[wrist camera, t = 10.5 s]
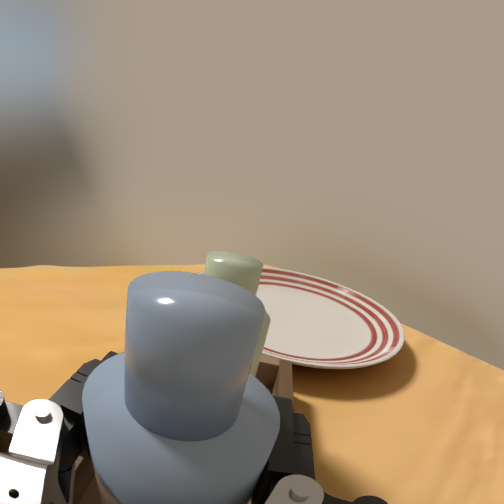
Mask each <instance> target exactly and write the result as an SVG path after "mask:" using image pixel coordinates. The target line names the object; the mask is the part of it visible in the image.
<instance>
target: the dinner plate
mask: <svg viewBox="0 0 504 504" xmlns="http://www.w3.org/2000/svg"><path fill="white" fill-rule="evenodd" d="M198 274H202V275H204V271H202V272H200V273H198ZM256 296H257V297H258V298H259V299H260V300H261V301H262V303H263V304H264V307H265V311H266V312H267V313H268V314H269V316H270V320H271V321H270V325H269V329H268V333H267V336H266V340H265V344H264V347H263V351H262V355H263V356H268V357H272V358H277V359H282V360H288V361H292V364H295V365H301V366H306V367H313V368H323V369H353V368H362V367H367V366H371V365H375V364H379V363H382V362H384V361H386V360H389V359H390V358H392V357H394V356H395V355H396V354H397V353H398V352H399V351H400V350H401V348H402V346H403V344H404V337H405V336H404V331H403V328H402V326H401V324H400V322H399V321H398V320H397V319H396V317H395V316H394V315H393V314H392V313H391V312H389V311H388V310H387V309H386V308H384V307H383V306H382V305H380V304H379V303H377V302H375V301H374V300H372V299H370V298H369V297H367V296H365V295H363V294H361V293H359V292H357V291H354V290H352V289H350V288H347V287H345V286H342V285H339V284H337V283H334V282H332V281H329V280H326V279H322V278H319V277H316V276H312V275H308V274H304V273H299V272H295V271H290V270H284V269H278V268H271V267H263V269H262V273H261V277H260V281H259V286H258V290H257V294H256Z"/></svg>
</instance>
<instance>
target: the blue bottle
mask: <svg viewBox="0 0 504 504" xmlns="http://www.w3.org/2000/svg"><path fill="white" fill-rule="evenodd" d="M264 315H265V307H264V304H263V303H262V301H261V300H260V299H259V298H258V297H257V296H255V295H254V294H253V293H251V292H250V291H248V290H246V289H245V288H243V287H240V286H238V285H236V284H234V283H231V282H228V281H225V280H222V279H219V278H215V277H211V276H207V275H202V274H196V273H189V272H175V271H166V272H154V273H149V274H145V275H142V276H139V277H137V278H136V279H134V280H133V281H132V282H131V283H130V284H129V287H128V295H127V310H126V327H125V352H122V353H120V354H117V355H115V356H113V357H111V358H109V359H107V360H105V361H104V362H102V363H101V364H99V365H98V366H97V367H96V368H95V369H94V370H93V371H92V373H91V374H90V375H89V377H88V379H87V380H86V382H85V385H84V389H83V394H82V404H83V412H84V419H85V425H86V431H87V437H88V443H89V448H90V453H91V458H92V463H93V467H94V471H95V476H96V480H97V484H98V488H99V492H100V495H101V499H102V503H103V504H248V503H249V501H250V499H251V496H252V494H253V492H254V490H255V488H256V485H257V483H258V481H259V479H260V476H261V474H262V472H263V470H264V467H265V465H266V463H267V460H268V458H269V456H270V453H271V451H272V448H273V446H274V443H275V441H276V439H277V436H278V433H279V429H280V413H279V410H278V406H277V404H276V402H275V400H274V398H273V396H272V395H271V393H270V392H269V390H268V389H267V388H266V387H265V386H264V385H263V384H262V383H261V382H260V381H259V380H258V379H257V378H255V377H254V376H253V375H251V374H250V369H251V365H252V362H253V358H254V354H255V350H256V346H257V342H258V338H259V334H260V331H261V327H262V323H263V319H264Z"/></svg>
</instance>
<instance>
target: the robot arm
mask: <svg viewBox="0 0 504 504" xmlns="http://www.w3.org/2000/svg"><path fill="white" fill-rule="evenodd" d="M117 354H118V353H115V352H112V351H110V352H109V353H108V354H107V355H106V356H105V357H104V358H103V359H102V360H101V361H100V360H97V359H94V360H92V361H89V362H87V363H85V364H83V365H82V366H81V367H80V368H79V369H78V370H77V372H76V373H74V374H73V375H72V376H71V378H70V379H68V380H67V381H66V382H65V383H64V384H63V385H62V386H61V387H60V388H59V390H58V391H57V392H56V393H55V394H54V395H53V396H52V397H51V398H50V399H49V400H44V399H38V400H33V401H31V402H29V403H27V404H26V405H25V406H22V405H18V404H15V403H11V402H8V401H5V399H4V396H3V393H2V391H1V390H0V504H73V490H74V478H75V461H76V460H77V458H78V457H79V456H81V457H83V458H86V459H88V460H90V458H91V453H90V448H89V443H88V437H87V431H86V425H85V419H84V412H83V404H82V394H83V389H84V385H85V382H86V380H87V379H88V377H89V375H90V374H91V373H92V371H93V370H94V369H95V368H96V367H97V366H98V365H99V364H101V363H102V362H104V361H105V360H107V359H109V358H111V357H113V356H115V355H117ZM272 396H273V398H274V400H275V402H276V404H277V406H278V410H279V413H280V429H279V433H278V436H277V439H276V441H275V443H274V446H273V448H272V451H271V453H270V456H269V458H268V460H267V463H266V465H265V467H264V470H263V472H262V474H261V476H260V479H259V481H258V483H257V485H256V488H255V490H254V492H253V494H252V497H251V504H388V503H387V502H385V501H384V500H383V499H381V498H378V497H375V496H362V497H359V498H357V499H356V500H354V501H353V502H349V501H345V500H341V499H338V498H335V497H332V496H330V495H328V494H326V493H325V492H324V491H323V489H322V487H321V486H320V484H319V483H318V482H316V480H315V474H314V463H313V452H312V446H311V444H312V441H311V437H310V436H311V431H310V424H309V422H308V421H307V419H306V418H305V416H304V415H303V414H300V413H293V412H292V399H291V398H286V397H281V396H275V395H272Z"/></svg>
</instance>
